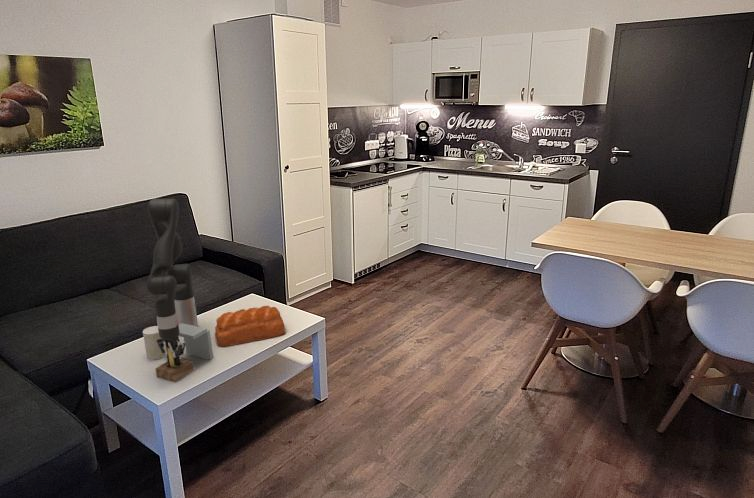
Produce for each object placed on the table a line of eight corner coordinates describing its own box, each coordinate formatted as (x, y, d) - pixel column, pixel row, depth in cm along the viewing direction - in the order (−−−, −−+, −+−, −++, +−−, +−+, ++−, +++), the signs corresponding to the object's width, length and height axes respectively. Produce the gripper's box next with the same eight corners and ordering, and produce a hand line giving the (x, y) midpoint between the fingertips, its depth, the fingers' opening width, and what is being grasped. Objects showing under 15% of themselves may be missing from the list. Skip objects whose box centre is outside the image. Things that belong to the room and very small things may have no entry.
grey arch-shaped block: (172, 361, 213) (168, 330, 209) (188, 352, 221) (184, 321, 217) (197, 368, 207) (193, 336, 203) (213, 358, 215) (209, 327, 211)
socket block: (156, 377, 201) (155, 368, 200) (176, 365, 210) (174, 356, 209) (175, 382, 197) (173, 373, 196) (194, 370, 206) (192, 361, 204)
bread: (214, 335, 237) (211, 309, 233) (280, 322, 249) (278, 298, 245) (218, 349, 223) (214, 322, 219) (287, 335, 235) (285, 309, 231)
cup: (147, 361, 214) (143, 335, 210) (146, 353, 221) (142, 328, 217) (168, 356, 217) (164, 331, 214) (166, 349, 224) (162, 324, 221)
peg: (169, 370, 202) (165, 348, 199) (175, 367, 205) (171, 344, 202) (174, 372, 201) (171, 349, 198) (180, 368, 203) (177, 346, 201)
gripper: (147, 325, 197) (154, 364, 202) (173, 331, 191) (179, 371, 196) (162, 317, 203) (168, 356, 208) (188, 323, 198) (194, 362, 202)
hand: (174, 363), depth 202 cm, fingers closed on peg, 3 cm apart
